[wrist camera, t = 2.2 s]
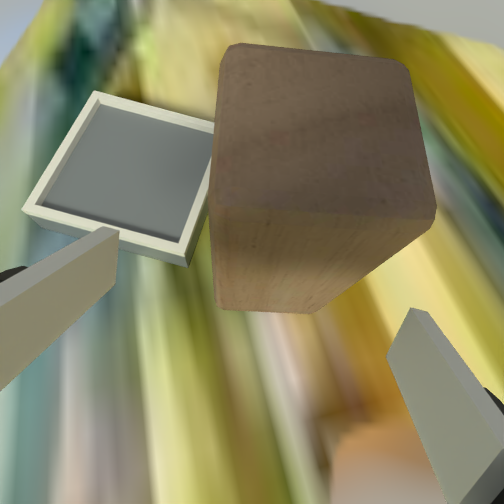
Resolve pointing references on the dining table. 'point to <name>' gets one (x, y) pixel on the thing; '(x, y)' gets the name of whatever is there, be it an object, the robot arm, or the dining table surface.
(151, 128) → the baseplate
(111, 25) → the dining table surface
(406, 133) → the block
